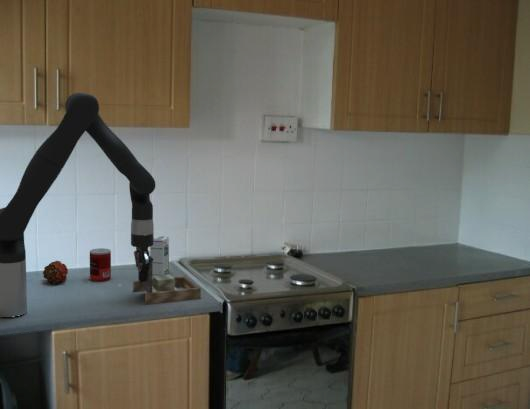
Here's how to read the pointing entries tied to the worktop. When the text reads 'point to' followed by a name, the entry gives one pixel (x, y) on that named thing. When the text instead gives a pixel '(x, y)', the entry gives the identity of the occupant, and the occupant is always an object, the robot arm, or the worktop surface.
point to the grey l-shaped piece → (158, 281)
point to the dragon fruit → (55, 272)
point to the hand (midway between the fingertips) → (142, 281)
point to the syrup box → (160, 255)
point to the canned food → (100, 264)
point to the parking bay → (171, 291)
